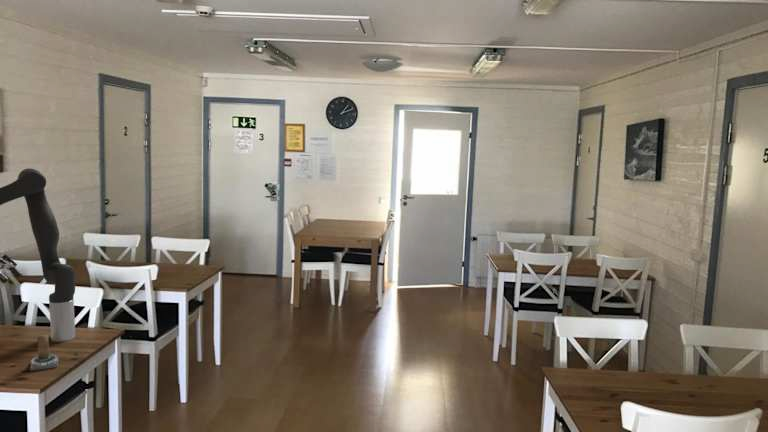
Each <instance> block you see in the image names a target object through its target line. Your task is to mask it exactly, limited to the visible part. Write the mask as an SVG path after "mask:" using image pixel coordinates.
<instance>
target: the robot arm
mask: <svg viewBox="0 0 768 432" xmlns="http://www.w3.org/2000/svg"><path fill="white" fill-rule="evenodd" d="M46 186H47V180H46V177H45V175H44V174H43V173H42V172H40V170H37V169H35V168H30V167H29V168H25V169H23V170H21V171H20V172H19V173H18V176H17V179H16V180H15V181H13V182H11V183H8V184H6V185H4V186H1V187H0V206H2V205H4V204H6V203H9V202H12V201H13V200H17V199H21V198H22V197H24V199H25V201H26V205H27V211H28V218H29V221H30V225H31V230H32V233H33V237H34V240H35V243H36V247H37V249H38V253H39V257H40V262H41V268H42V269H41V270H42V274H43V275H42V276H43V278H44V280H45V281H46V282H47V283H48V284H50V285H54V291H53V292H52V293H50V294H49V296H48V301H49V302H48V303H49V305H48V306H49V321H50V322H49V323H50V336H51V337H50V339H51V341H53V342H58V343H59V342H66V341H71V340H73V339H75V338H76V323H75V321H76V319H75V303H74V295H75V292H76V273H75V268H74V267H72V266H71V265H69V264H65V263H61V260H60V257H59V255H58V244H59V240H60V230H59V227H58V222H57V220H56V217H55V214H54V213H53V210H52V208H51V206H50V204H49V202H48V200H47V197H46V196H47V195H46V192H45V187H46ZM17 266H18V264H17V263H16V262H15V261H14V260H13V259H12V258H11V257H9V256H8V255H7V254H4V255H3V256H0V270H3V271H5V270H6V271H8V272H10V273H11V274H12V275H13V276H14V277H15V278H17V279H18V278H20V277H21V276H22V272H21V271H19V270H18V268H16V267H17ZM8 281H9V278H8V277H7V276H6V275H5V274H4V273H3V272H0V282H1V283H2V284H6V283H7V282H8Z"/></svg>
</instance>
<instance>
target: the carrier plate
mask: <svg viewBox="0 0 768 432" xmlns="http://www.w3.org/2000/svg"><path fill="white" fill-rule="evenodd" d="M50 355H51V356H52V357H53V360H51V361H47V362H36V358H38V356H36V357H33V358H32V359H31V360H30V367H29V369H30V372H33V371H43V370H48V369H55V368H56V369H57V368H58V365H59V355H55V354H50Z"/></svg>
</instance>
